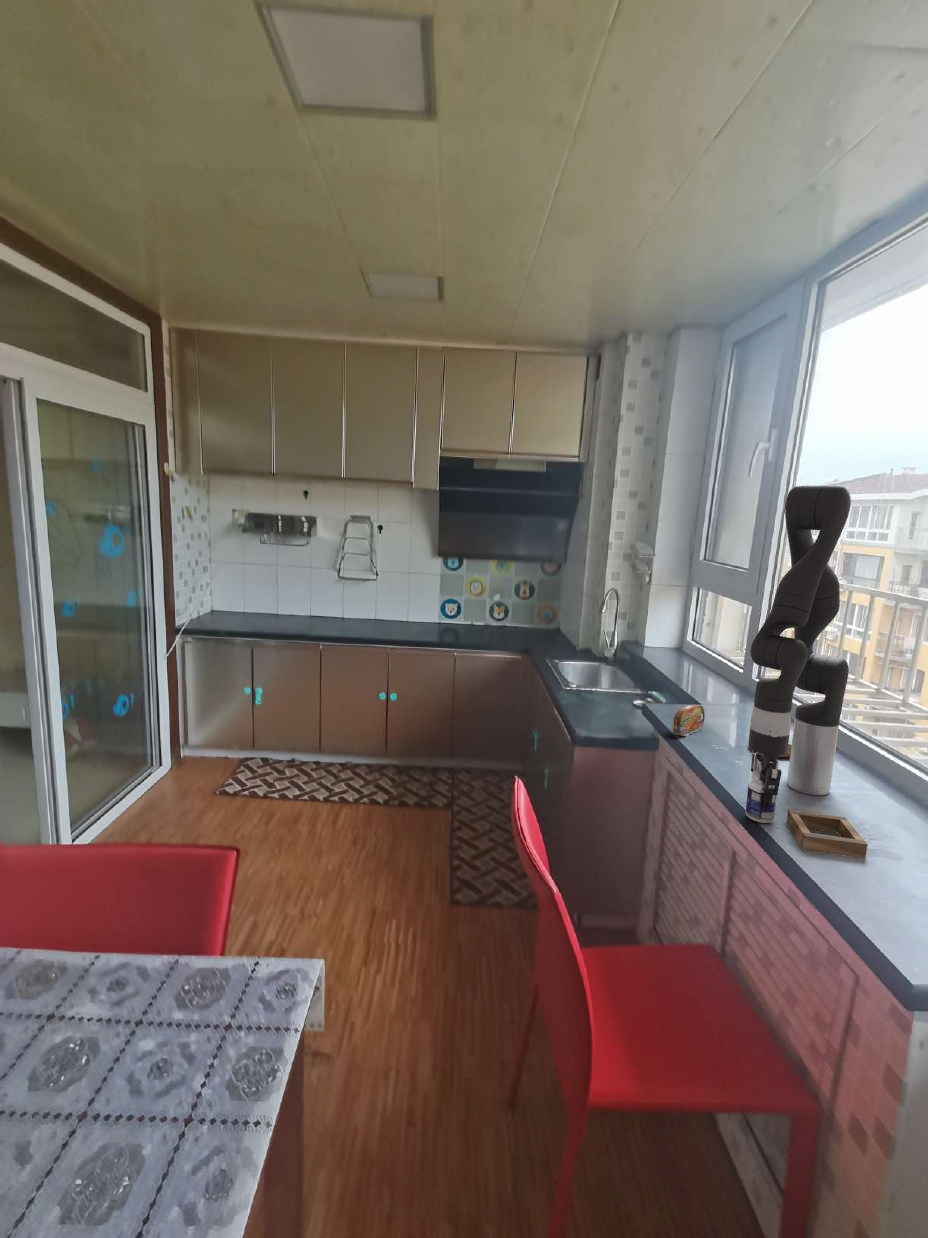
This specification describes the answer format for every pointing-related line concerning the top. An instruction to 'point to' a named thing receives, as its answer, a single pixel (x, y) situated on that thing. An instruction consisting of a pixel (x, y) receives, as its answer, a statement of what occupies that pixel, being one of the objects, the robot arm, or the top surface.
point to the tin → (688, 719)
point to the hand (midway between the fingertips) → (761, 802)
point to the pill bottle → (754, 800)
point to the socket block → (842, 845)
